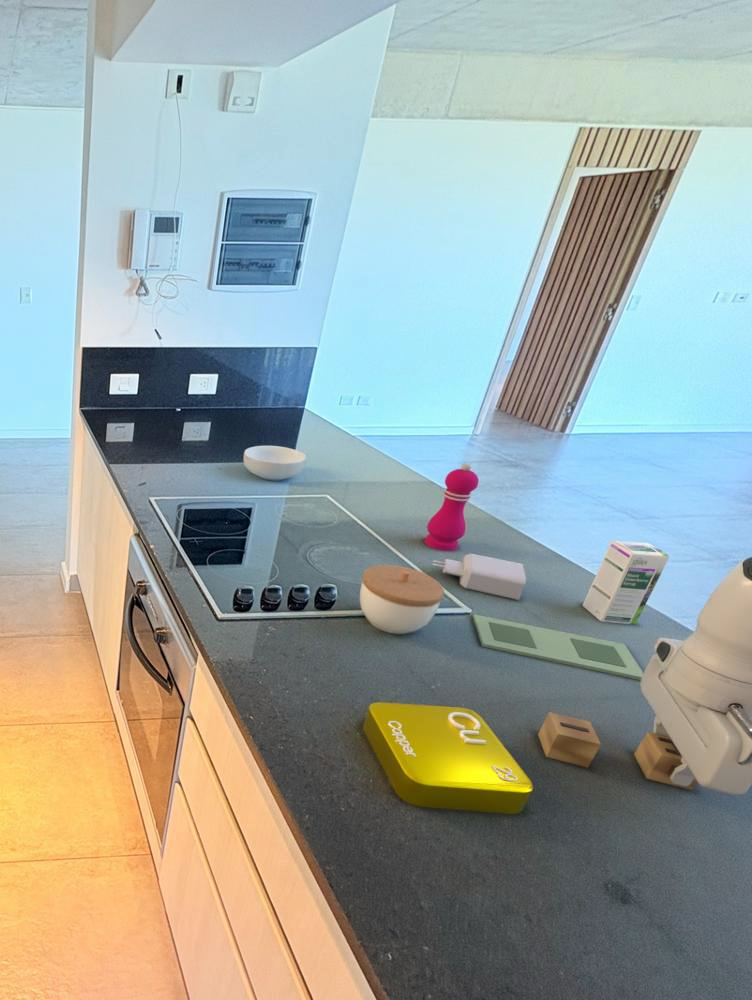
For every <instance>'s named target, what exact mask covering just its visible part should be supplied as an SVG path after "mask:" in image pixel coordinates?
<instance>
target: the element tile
mask: <svg viewBox="0 0 752 1000" xmlns="http://www.w3.org/2000/svg"><path fill="white" fill-rule="evenodd" d="M362 730H363V732H364V734H365V736H366V737H367V740H368V741H369V742H368V743H369V744H370V746H371V748H372V750H373V751H374V753H375V755H376V757H377V759H378V761H379V763H380V765H381V767H382V769H383V770H384V773H385V774H386V777H387V779H388V780H389V782H390V784H391V786H392V789H393V790H394V792H395V793H396V794H397V796H398V797H399V798H400V799H401V800H402V801H404V802H406V803H407V804H410V805H412V806H415V807H420V808H431V809H443V810H457V811H469V812H482V813H483V812H484V813H495V814H508V815H516V814H519V813H521V812H523V810H524V808H525V806H526V804H527V801H528V800H529V798H530V796H531V794H532V792H533V790H534V784H533V782H532V780H531V779H530V778H529V776H528V775H527V773H525V771H524V770H523V768H522V767H521V766H520V765H519V763H518V762H517V761H516V760H515V758H514V757H513V756H512V754H511V753H510V752H509V751H508V749H507V748H506V747H505V746H504V744H503V743H502V742H501V740H500V739H499V738H498V736H497V735H496V734H495V733H494V731H493V730H492V729H491V727H490V726H489V725H488V723H487V722H486V721H485V719H483V718H482V717H481V715H479V714H478V713H477V712H475V711H474V710H473V709H470V708H465V707H461V706H460V707H459V706H448V705H447V706H446V705H430V704H417V703H416V704H415V703H402V702H401V703H400V702H384V701H376V702H372V703H371V704H370V705H368V709H367V713H366V715H365V718H364V722H363V725H362Z"/></svg>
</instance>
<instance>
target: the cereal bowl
mask: <svg viewBox="0 0 752 1000" xmlns="http://www.w3.org/2000/svg"><path fill="white" fill-rule="evenodd" d="M306 461H307V456H306V455H305V453H303V452H301V451H300V450H297V449H294V448H290V447H285V446H280V445H279V446H278V445H255V446H251V447H247V448H246V449H244V452H243V464H244V467H245V469H247V471H249V472H250V473H251V474H252V475H255V476H257V477H258V478H260V479H264V480H266V481H267V480H268V481H284V480H286V479H289V478H290V479H291V478H294V477H296V476H297V475H299V474H300V473H301V472H302V471H303V469H304V468H305V465H306Z"/></svg>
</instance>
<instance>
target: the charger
mask: <svg viewBox="0 0 752 1000" xmlns="http://www.w3.org/2000/svg"><path fill="white" fill-rule="evenodd" d="M432 562H433V563H432V566H434V567H438V568H442V573H443V574H445V575H446V574H447V575H451V576H456V577H459V585H460V586H461V587H462V588H464V589H467V590H471V591H476V592H480V593H485V594H490V595H492V596H498V597H502V598H505V599H511V600H514V601H515V600H516V601H519V600H520V599H521V597H522V594H523V591H524V589H525V586H526V583H527V577H526V572H525V568H524V564H523V563H520V562H516V561H511V560H510V561H509V560H506V559H500V558H495V557H490V556H485V555H481V554H477V553H467V554H465V555H464V556H463V559H462V561H459V560H454V559H450V558H445V559H444V561H439V560H435V559H434V560H432Z"/></svg>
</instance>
